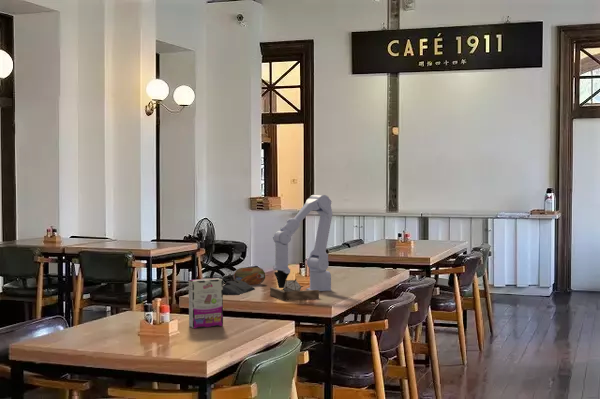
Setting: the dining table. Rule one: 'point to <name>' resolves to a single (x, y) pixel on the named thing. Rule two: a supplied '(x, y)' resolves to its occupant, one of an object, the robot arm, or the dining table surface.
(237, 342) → the dining table surface
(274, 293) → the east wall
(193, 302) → the candy bar box
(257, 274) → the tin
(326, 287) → the robot arm
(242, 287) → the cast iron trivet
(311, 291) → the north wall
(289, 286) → the game die
